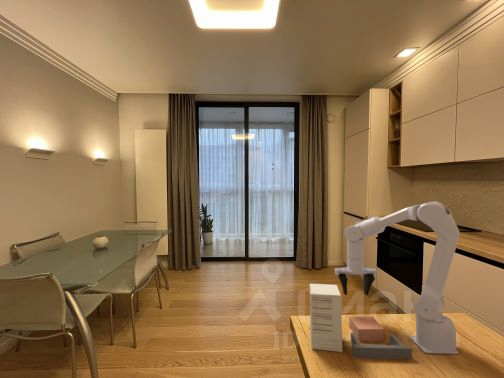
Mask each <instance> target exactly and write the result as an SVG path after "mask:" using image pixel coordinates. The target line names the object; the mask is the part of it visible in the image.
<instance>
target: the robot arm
mask: <svg viewBox="0 0 504 378" xmlns="http://www.w3.org/2000/svg"><path fill="white" fill-rule="evenodd" d="M406 220H410V221H415V222H416V221H421V223H423V224H424V225H426V226H428V227H429V228H430V229H431V230H433V232H434V233H435V234H436V236H437V240H436V243H435V247H434V250H433V254H432V256H431V257H432V258H431V262H430V265H429V269H428V272H427V275H426V279H425V282H424V286H423V287H422V291H421V294H420V296H419V297H418V298H417V299H416V300H415V302H414V304H413V308H414V312H415V332H416V333H415V335H410V336H409V339H411V340H412V341H413V343H415V345H417V347H419V349H420V350H422V352H423V353H424V354H440V355H442V354H443V355H444V354H445V355H446V354H447V355H448V354H449V355H451V354H452V355H458V354H459V351H457V331H456V326H455V324H454V322H453V320H452V319H451V318H450V317H448V316H446V315H444V314H443V313H442V310H443V308H445V307H444V306H445V301H444V292H445V286H446V282H447V280H448V276H449V273H450V270H451V267H452V266H451V265H452V262H453V259H454V256H455V252H456V248H457V245H458V242H459V238H460V235H461V234H460V230H459V228H458V226H457V224H456V221H455V219H454V217H453V214H452V212H451V210H450V209H449V208H448V207H447V206H446V205H444V203H442V202H440V201H435V200H434V201H429V202H424V203H421V204H417V205H412V206H408V207H405V208H403V209H400V210H397V211H395V212H393V213H391V214H388V215H386V216H383V217H379V216H372V215H371V216H368V217H367V219H365V220H362V221H361V222H360V221H357V222H356V221H355V224H353V225H349V226H347V227H346V228H345V229H344V233H343V234H344V237H345V239H346V244H347V245H346V261H347V262H346V265H347V266H346V267H335V268H334V274H335V275H336V276H337V277H338V278H339V281H340V284H341V287H342V292H343V295H345V296H347V295H348V281H349V279H348V277H347V275H348V276H349V275H354V276H355V275H362V277H363V294H365V296H369V294H370V293H369V292H370V290H371V287H372V285H373V283H374V282H375V280H376V279H375V278H376V276H377V275H378V274H377V269H375V268H371V267H370V268H369V267H365V261H364V260H365V257H364V256H365V253H364V251H365V250H364V249H365V247H364V243H365V242H364V239H365V238H367V239H368V238H370V237H372V236H375V235H378V234H380V233H383V232H384V231H385V229H386V227H388V226H391V225H394V224H397V223H400V222H404V221H406Z"/></svg>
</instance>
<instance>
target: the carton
mask: <svg viewBox="0 0 504 378" xmlns="http://www.w3.org/2000/svg"><path fill="white" fill-rule="evenodd" d="M348 321H349V323H348V324H349V326H348V327H349V329H350V331H352V332H351V333H354V334H355V335H356V337H357V339H358V340H360V341H359V342H384V341H385V333H384V332H385V331H384V328H383V326H382V325H380V323H379V322H378V321H377V320H376V319H375V318H374V317H373V316H349V319H348Z"/></svg>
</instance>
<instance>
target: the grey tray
mask: <svg viewBox="0 0 504 378" xmlns="http://www.w3.org/2000/svg"><path fill="white" fill-rule="evenodd" d="M350 343H351V345H352V346H351V347H352V353H351V354H352V356H353V358H354V359H379V360H380V359H381V360H382V359H385V360H387V359H388V360H413V349H412V347H411V346H410V345H408V344H407V345H405V344H403V343H402V342H401V341H400V339H399V338H398V337H397V336H396V335H395V333H389V344H366V343H365V344H362V343H361V341H359V340H358V339H357V337H356V335H355V334H354V333H353V332H350Z"/></svg>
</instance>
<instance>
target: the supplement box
mask: <svg viewBox="0 0 504 378" xmlns="http://www.w3.org/2000/svg"><path fill="white" fill-rule="evenodd" d="M309 304H310V306H309V307H310V309H309V310H310V311H309V313H310V314H309V317H310V324H309V325H310V329H309V330H310V347H311V349H312V350H320V351H329V352H339V353H343V323H342V322H343V321H342V319H343V318H342V317H343V316H342V295H341V292H340V289H339V286H338V285H337V284H327V283H326V284H323V283H309Z"/></svg>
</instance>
